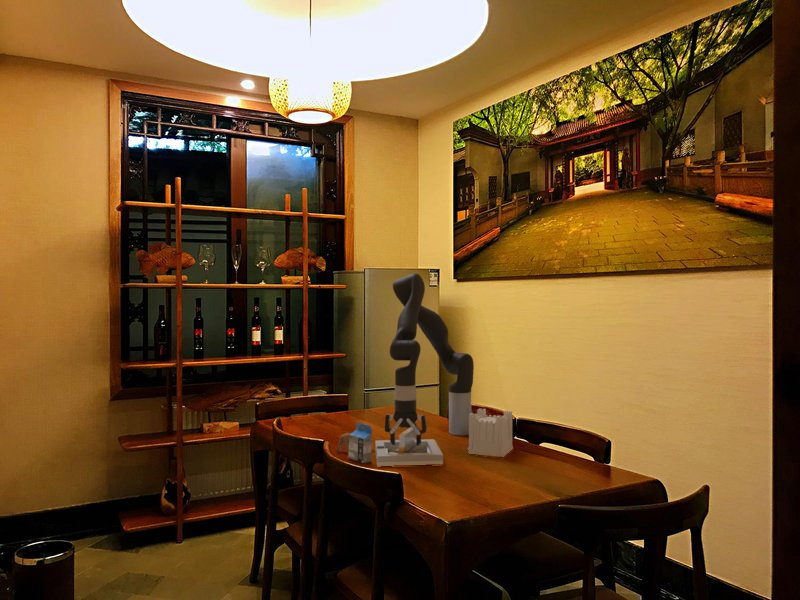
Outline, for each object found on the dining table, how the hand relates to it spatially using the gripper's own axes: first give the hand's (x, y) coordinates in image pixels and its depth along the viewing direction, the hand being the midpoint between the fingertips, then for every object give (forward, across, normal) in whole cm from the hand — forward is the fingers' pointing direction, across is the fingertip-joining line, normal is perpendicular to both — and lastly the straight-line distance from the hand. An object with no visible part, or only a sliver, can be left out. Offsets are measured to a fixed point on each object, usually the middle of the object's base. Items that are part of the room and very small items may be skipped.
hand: (405, 444), depth 207 cm
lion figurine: (+6, +21, -10) cm, 24 cm away
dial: (+4, 0, -4) cm, 5 cm away
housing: (+5, 0, -4) cm, 7 cm away
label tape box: (+6, +16, +2) cm, 17 cm away
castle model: (+6, -28, -16) cm, 33 cm away
